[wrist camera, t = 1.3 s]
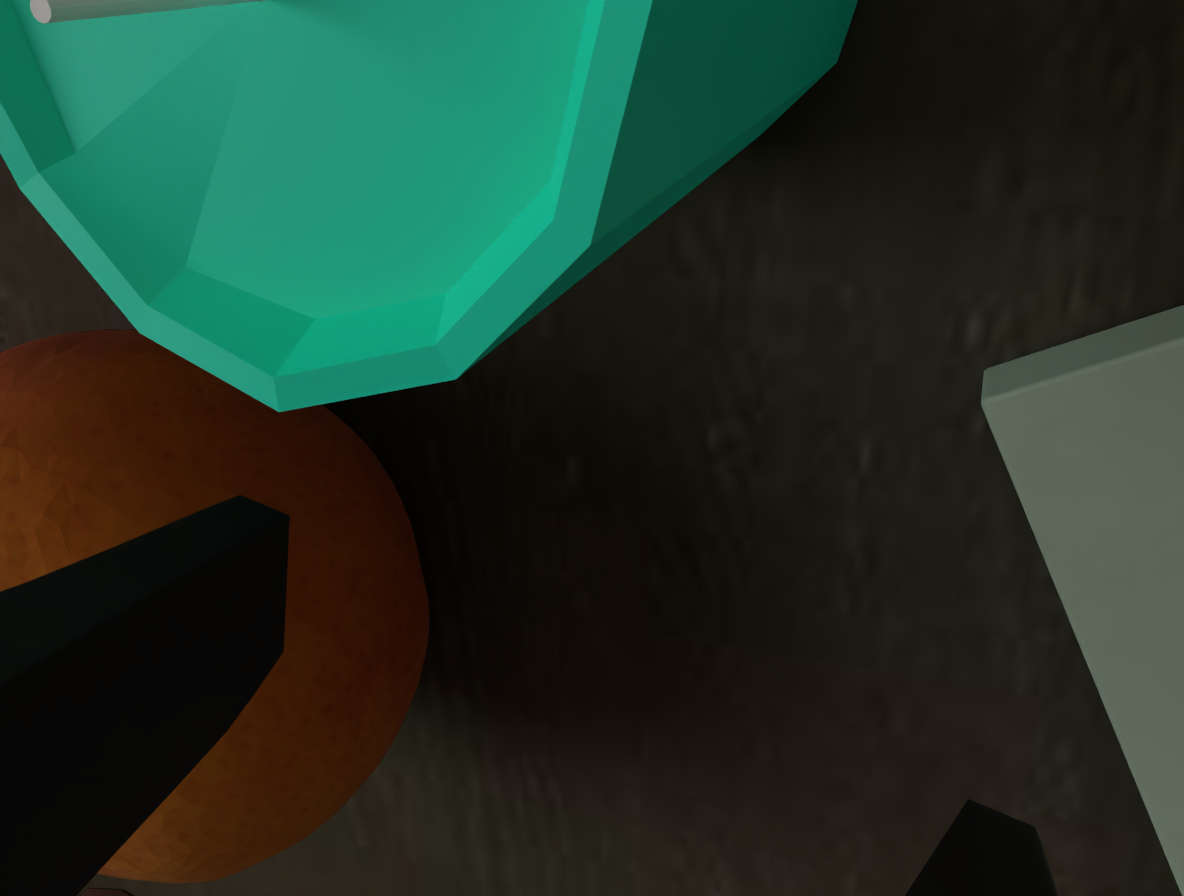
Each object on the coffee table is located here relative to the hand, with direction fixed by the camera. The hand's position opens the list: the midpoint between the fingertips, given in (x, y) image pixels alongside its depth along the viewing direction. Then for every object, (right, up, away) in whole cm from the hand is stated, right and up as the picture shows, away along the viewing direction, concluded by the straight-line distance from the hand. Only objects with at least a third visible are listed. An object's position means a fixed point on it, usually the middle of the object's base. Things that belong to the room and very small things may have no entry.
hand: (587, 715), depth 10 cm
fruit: (-7, +2, +13) cm, 15 cm away
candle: (+1, +10, +5) cm, 12 cm away
